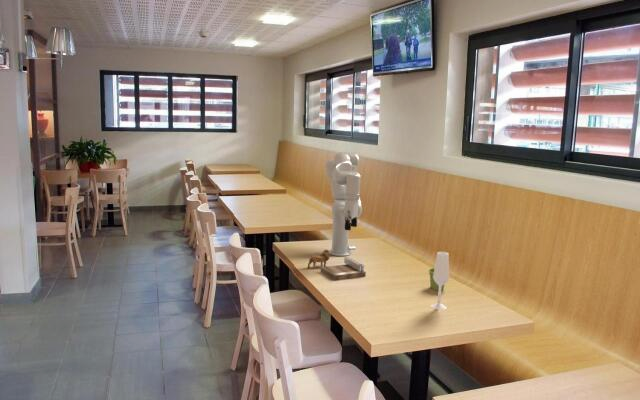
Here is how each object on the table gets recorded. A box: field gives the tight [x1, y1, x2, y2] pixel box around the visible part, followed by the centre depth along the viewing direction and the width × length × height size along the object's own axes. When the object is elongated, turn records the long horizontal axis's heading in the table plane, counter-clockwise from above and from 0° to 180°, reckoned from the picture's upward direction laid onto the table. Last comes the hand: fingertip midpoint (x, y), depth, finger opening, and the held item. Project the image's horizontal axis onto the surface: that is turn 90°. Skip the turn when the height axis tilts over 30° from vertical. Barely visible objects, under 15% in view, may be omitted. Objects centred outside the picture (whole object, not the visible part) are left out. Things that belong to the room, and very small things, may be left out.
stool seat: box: [320, 264, 367, 281], centre depth 261 cm, size 18×15×2 cm
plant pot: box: [428, 267, 445, 291], centre depth 244 cm, size 9×9×9 cm
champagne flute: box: [430, 251, 450, 311], centre depth 218 cm, size 7×7×24 cm
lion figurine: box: [307, 248, 331, 270], centre depth 271 cm, size 15×5×9 cm, turn 130°
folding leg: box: [343, 256, 365, 271], centre depth 265 cm, size 16×2×3 cm, turn 27°
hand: (350, 228), depth 273 cm, fingers open, 9 cm apart
